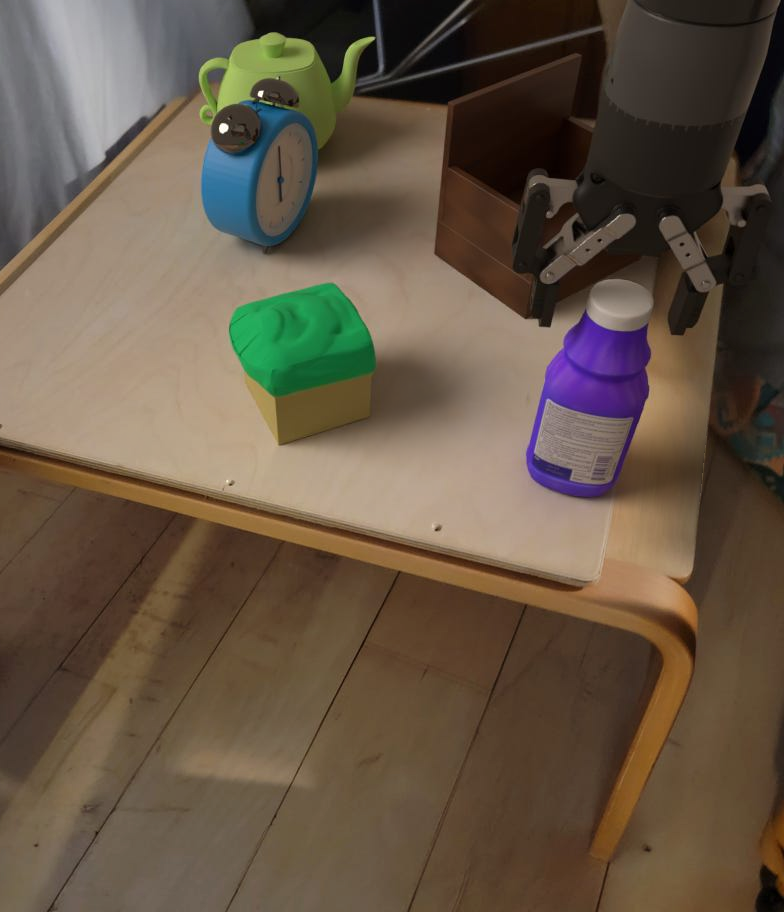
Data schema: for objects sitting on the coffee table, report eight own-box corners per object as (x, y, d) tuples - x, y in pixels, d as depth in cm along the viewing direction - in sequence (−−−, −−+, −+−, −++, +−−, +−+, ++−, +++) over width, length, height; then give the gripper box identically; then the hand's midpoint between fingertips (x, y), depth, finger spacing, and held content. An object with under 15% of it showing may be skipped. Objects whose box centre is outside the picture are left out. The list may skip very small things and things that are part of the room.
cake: (224, 382, 80) (212, 290, 73) (335, 350, 82) (335, 257, 75) (262, 457, 74) (254, 365, 66) (381, 420, 76) (386, 327, 69)
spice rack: (642, 258, 91) (687, 103, 79) (524, 319, 85) (555, 162, 73) (547, 201, 98) (576, 52, 86) (433, 254, 92) (447, 101, 80)
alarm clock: (256, 273, 91) (244, 131, 80) (205, 256, 93) (187, 116, 82) (321, 208, 98) (318, 71, 87) (272, 194, 100) (264, 59, 89)
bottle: (621, 458, 73) (681, 279, 60) (613, 511, 69) (675, 333, 56) (529, 438, 74) (569, 261, 61) (517, 489, 71) (556, 311, 58)
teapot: (296, 101, 115) (292, -4, 106) (373, 141, 108) (377, 32, 98) (193, 145, 108) (179, 37, 99) (268, 191, 101) (260, 79, 91)
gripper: (546, 115, 47) (502, 354, 59) (836, 125, 45) (730, 368, 57) (538, 51, 52) (499, 284, 64) (799, 59, 50) (709, 295, 62)
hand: (608, 323), depth 61 cm, fingers open, 8 cm apart
